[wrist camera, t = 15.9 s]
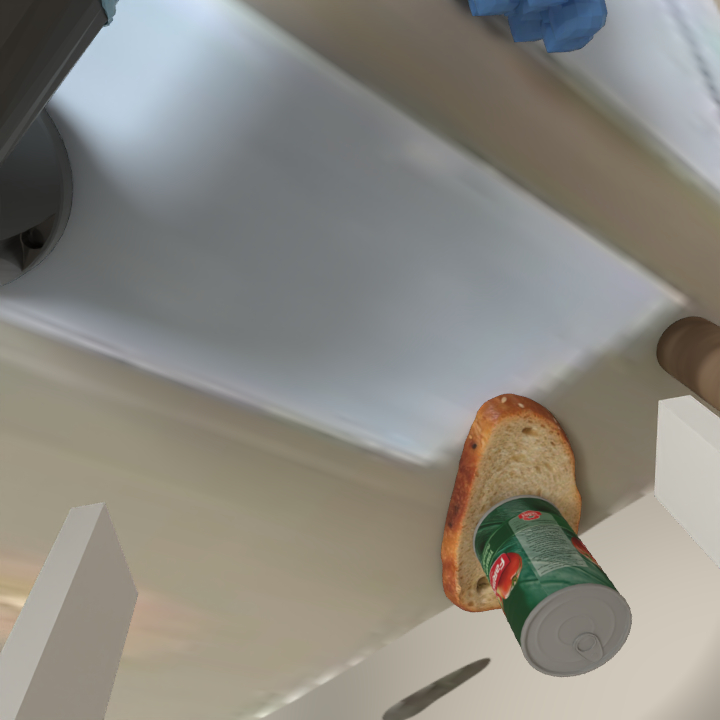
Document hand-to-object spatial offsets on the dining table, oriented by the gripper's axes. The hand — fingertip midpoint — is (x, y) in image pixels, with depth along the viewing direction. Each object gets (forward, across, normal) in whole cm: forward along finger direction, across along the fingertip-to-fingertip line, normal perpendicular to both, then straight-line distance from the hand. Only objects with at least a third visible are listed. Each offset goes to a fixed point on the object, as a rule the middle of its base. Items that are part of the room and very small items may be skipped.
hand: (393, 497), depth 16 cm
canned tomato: (+30, +12, -28) cm, 43 cm away
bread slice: (+34, +11, -27) cm, 44 cm away
